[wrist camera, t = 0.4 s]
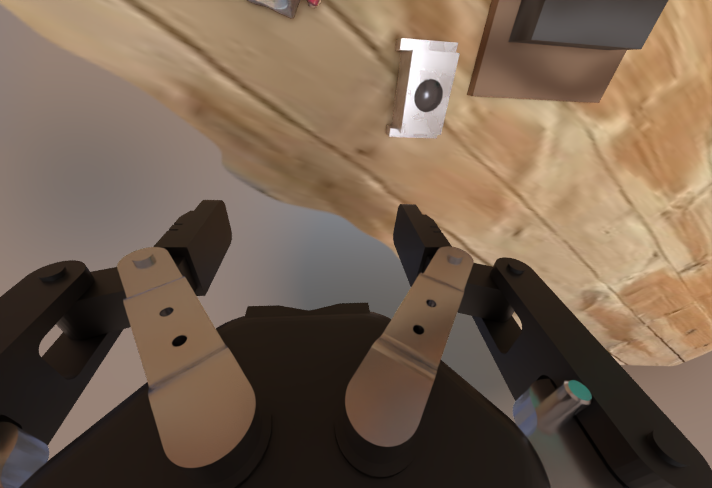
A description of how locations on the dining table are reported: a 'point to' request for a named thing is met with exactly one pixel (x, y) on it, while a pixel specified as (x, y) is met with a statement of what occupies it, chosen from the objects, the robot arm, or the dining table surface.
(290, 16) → the brake caliper
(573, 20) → the stand
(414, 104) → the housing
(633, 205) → the dining table surface
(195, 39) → the dining table surface
